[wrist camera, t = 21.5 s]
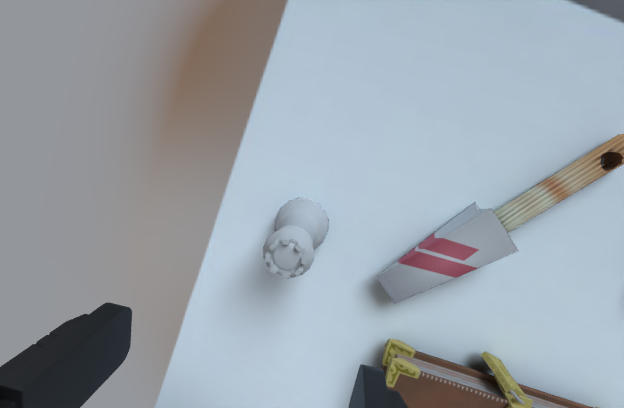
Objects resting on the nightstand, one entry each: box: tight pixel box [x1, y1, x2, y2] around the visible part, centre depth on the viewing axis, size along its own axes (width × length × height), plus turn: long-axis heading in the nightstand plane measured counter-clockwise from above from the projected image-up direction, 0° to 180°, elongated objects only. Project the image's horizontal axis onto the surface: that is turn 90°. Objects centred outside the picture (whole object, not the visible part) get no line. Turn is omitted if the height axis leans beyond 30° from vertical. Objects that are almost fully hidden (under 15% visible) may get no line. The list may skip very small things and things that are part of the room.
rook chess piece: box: [263, 198, 329, 279], centre depth 23 cm, size 4×4×8 cm
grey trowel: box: [376, 134, 624, 303], centre depth 23 cm, size 4×3×20 cm
